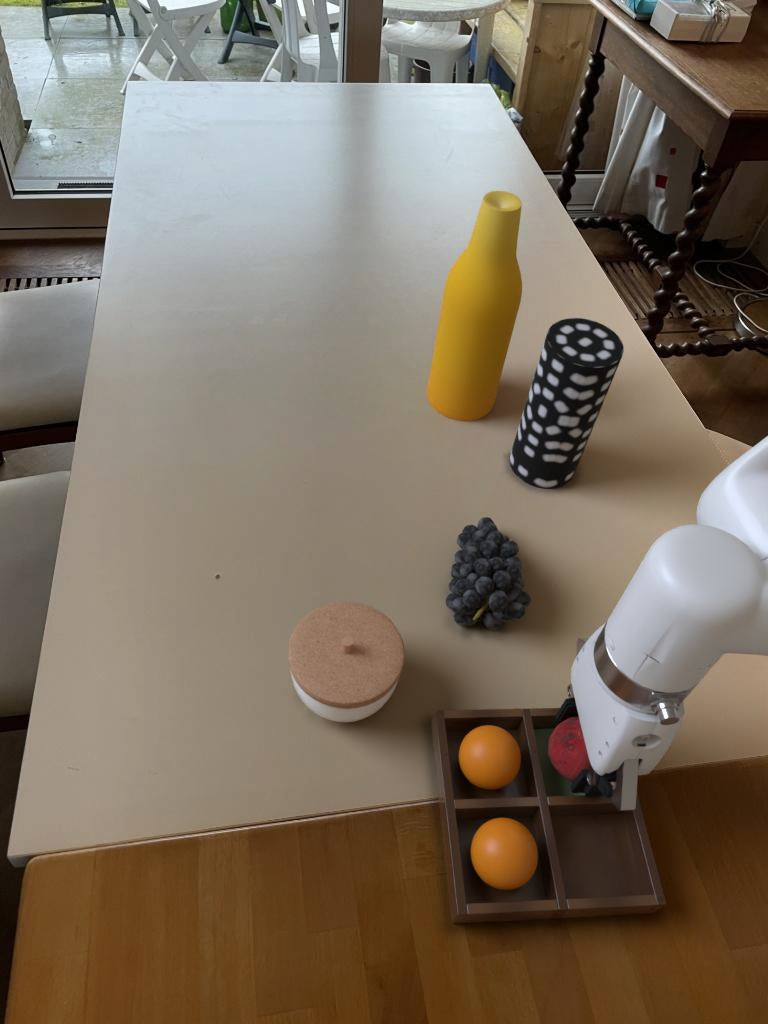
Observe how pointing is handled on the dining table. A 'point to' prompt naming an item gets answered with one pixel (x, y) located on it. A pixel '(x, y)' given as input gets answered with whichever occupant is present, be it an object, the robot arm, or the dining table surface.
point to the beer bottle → (478, 314)
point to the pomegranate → (568, 749)
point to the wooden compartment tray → (539, 831)
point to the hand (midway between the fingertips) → (579, 752)
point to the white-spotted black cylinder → (564, 401)
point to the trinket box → (345, 660)
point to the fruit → (486, 578)
